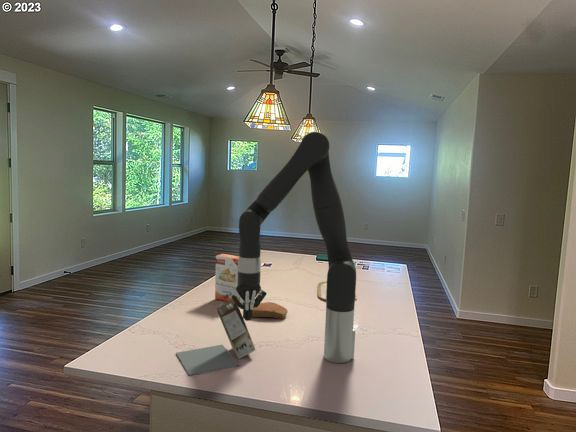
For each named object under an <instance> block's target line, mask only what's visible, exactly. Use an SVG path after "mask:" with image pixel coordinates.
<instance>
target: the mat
mask: <svg viewBox="0 0 576 432" xmlns="http://www.w3.org/2000/svg"><path fill="white" fill-rule="evenodd" d="M175 354H176V356H177V357H178V360H179V361H180V363H181V365H182V367H183V368H184V370H185V371H186V373H187V375H188V376H189V377H190V376H194V375H195V376H197V375H199V374H200V375H201V374H206V373H210V372H213V371H218V370H223V369H229V368H233V366H234V367H238V366H237V365H239V366H240V362H238V361H237V360H236V359H235V358H234V356H233V355H232V354H231V353H230V352H229V350H228V349H227V348H226V347H225V345H223V344H218V345H212V346H206V347H200V348H196V349H195V348H194V349H189V350H184V351H178V352H176V353H175Z"/></svg>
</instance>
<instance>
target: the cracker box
mask: <svg viewBox="0 0 576 432" xmlns="http://www.w3.org/2000/svg"><path fill="white" fill-rule="evenodd" d="M238 260H239V255H238V256H237V255H233V254H225V253H221V254H216V255H215V277H214V278H215V279H214V281H215V283H214V284H215V285H214V287H215V288H214V289H215V290H214V292H215V293H214V299H216V300H219V301H223V302H226V303H227V302H229V301H232V298H231V297H230V294H231V293H232V294H233V293H234V292H235V291H236V288H237V285H238V283H237V281H238ZM238 300H239V301H240V303H241V304H242V298H241V297H240V296H239V294H238ZM233 302H234V301H233ZM234 303H235V302H234ZM235 304H236V303H235Z"/></svg>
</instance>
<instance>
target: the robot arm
mask: <svg viewBox="0 0 576 432" xmlns="http://www.w3.org/2000/svg"><path fill="white" fill-rule="evenodd" d="M329 152H330V141H329V139H328V137H327V136H326V135H325V134H324V133H322V132H320V131H310V132H308V133H307V134H305V135H304V136H303V137H302V139H301V142H300V143H299V144H298V146H297V148H296V150H295V152H294V153H293V155H292V156H291V157H290V159H289V160H288V161H287V163H286V164H285V165H284V166H283V167H282V168H281V170H280V171H279V172H278V173H277V174H276V175H275V176H274V177H273V178H272V179H271V180H270V182H269V183H268V184H267V185H266V186H265V187H264V188H263V190H261V192H260V193H259V194H258V195H257V197H256V199H255V200H254V201H253V202H252V203H251V204H250V205H249V206H248V207H247V209H245V211H243V213H241V215H240V217H239V220H238V233H239V234H238V235H239V236H238V237H239V249H238V250H239V251H238V256H239V260H238V281H237V283H238V285H237V288H236V291H235V292H234V293H233V294H232V293H231V294H230V297H231V298H232V300H233V301H234V302H235V304H236V305H237V306H238V307H239V309H240V310H242V317H243V319H244V321H247V322H249V321H251V319H253V317H252V311H253V308H255V307H258V306H259V304H260V303H262V301H263V300H264V299H265V297H266V296H267V292H266V291H265V290H263V289H262V287H261V270H262V269H261V267H262V261H261V251H262V249H261V246H262V245H261V239H260V238H261V225H262V224H263V223H264V221H265V220H266V219H267V217H268V216H270V214H271V212H274V210H276V208H278V206H279V205H281V203H282V202H283V200H284V199H285V198H286V197H287V196H288V195H289V193H290V192H291V191H292V189H293V188H294V187H295V185H296V184H297V182H298V181H300V179H301V178H302V177H303V176H304V175H305V174H306V172H308V175H309V180H310V191H311V200H312V208H313V211H314V217H315V220H316V224H317V227H318V230H319V232H320V233H319V234H320V235H321V237H322V240H323V242H324V244H325V248H326V254H327V262H328V270H327V275H326V281H327V284H326V292H325V293H326V294H325V295H326V296H325V299H326V303H325V304H326V305H325V306H326V307H325V324H324V325H325V326H324V342H323V343H324V344H323V345H324V346H323V348H324V349H323V357H324V359H325V360H327V361H328V362H331V363H335V364H346V363H348V362H350V361H351V360H353V359H354V358H355V345H356V330H355V329H354V318H355V317H354V316H355V302H356V299H355V293H356V291H357V290H356V289H357V287H356V285H357V268H356V265H355V263H354V261H353V257H352V254H351V251H350V247H349V243H348V239H347V237H348V236H347V226H346V220H345V214H344V208H343V205H342V199H341V196H340V193H339V191H338V187H337V184H336V182H335V180H334V177H333V174H332V169H331V162H330V161H331V160H330V153H329ZM238 294H239V296H240V297H241V298H242V303H240V301H239V300H238Z"/></svg>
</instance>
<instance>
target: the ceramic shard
mask: <svg viewBox="0 0 576 432" xmlns="http://www.w3.org/2000/svg"><path fill="white" fill-rule="evenodd" d="M288 312H289V311H288V309H287V308H285V306H282V305H280V304H278V303H276V302H271V301H270V302H269V301H266V302H261V303H260V304H259V306H258V307H255V308H253V311H252V318H264V317H265V318H276V319H280V320H283V319H284V318H285V317H286V316H287V313H288Z"/></svg>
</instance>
